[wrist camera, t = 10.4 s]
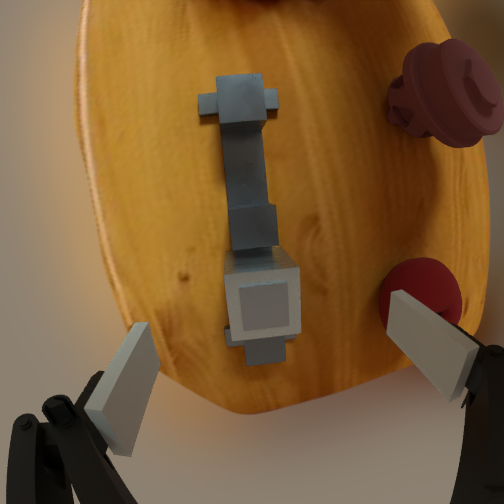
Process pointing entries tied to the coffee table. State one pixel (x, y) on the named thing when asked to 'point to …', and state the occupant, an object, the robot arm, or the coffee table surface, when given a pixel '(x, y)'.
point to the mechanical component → (446, 95)
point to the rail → (247, 182)
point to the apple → (423, 288)
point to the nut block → (262, 293)
